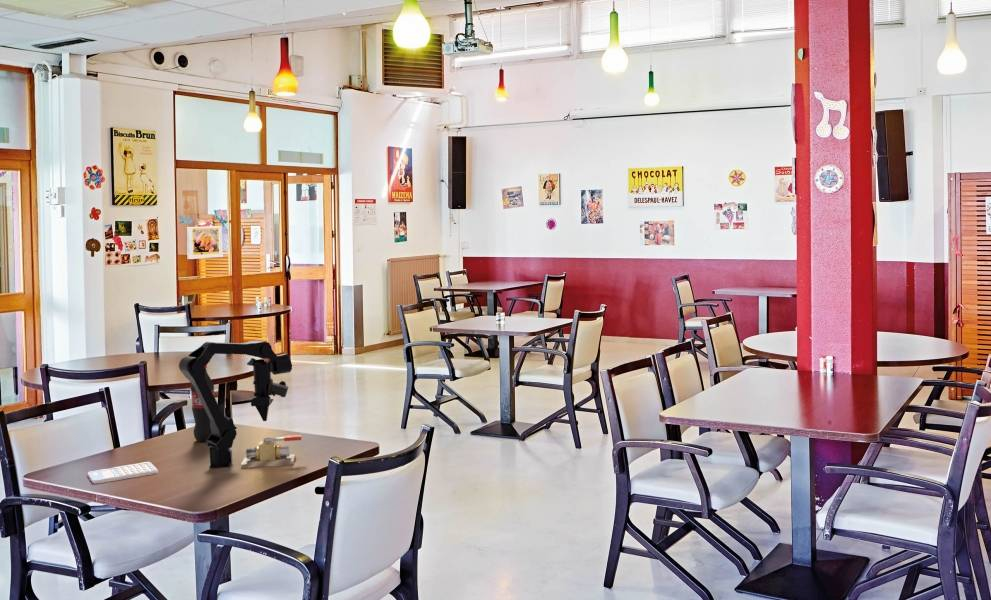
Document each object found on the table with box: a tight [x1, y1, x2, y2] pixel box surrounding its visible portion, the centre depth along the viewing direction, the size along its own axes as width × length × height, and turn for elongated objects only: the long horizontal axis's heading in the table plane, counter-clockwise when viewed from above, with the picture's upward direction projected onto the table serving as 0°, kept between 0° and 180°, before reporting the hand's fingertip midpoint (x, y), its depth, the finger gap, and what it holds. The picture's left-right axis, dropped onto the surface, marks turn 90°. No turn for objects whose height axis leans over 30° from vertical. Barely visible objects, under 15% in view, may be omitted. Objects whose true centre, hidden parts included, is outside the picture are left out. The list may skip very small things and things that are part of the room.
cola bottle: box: [190, 364, 215, 443], centre depth 343 cm, size 8×8×30 cm
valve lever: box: [263, 434, 302, 442], centre depth 309 cm, size 12×3×1 cm, turn 98°
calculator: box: [87, 461, 159, 485], centre depth 302 cm, size 13×20×2 cm, turn 121°
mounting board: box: [240, 453, 297, 469], centre depth 309 cm, size 17×9×1 cm, turn 97°
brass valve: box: [245, 440, 291, 462], centre depth 309 cm, size 14×5×6 cm, turn 97°
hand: (265, 421), depth 319 cm, fingers closed
